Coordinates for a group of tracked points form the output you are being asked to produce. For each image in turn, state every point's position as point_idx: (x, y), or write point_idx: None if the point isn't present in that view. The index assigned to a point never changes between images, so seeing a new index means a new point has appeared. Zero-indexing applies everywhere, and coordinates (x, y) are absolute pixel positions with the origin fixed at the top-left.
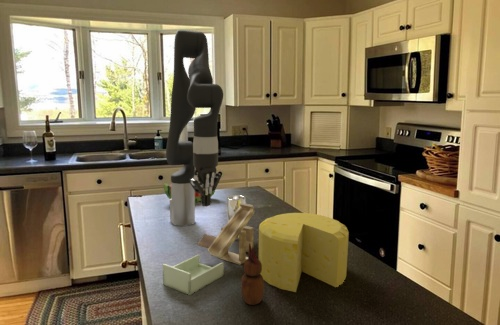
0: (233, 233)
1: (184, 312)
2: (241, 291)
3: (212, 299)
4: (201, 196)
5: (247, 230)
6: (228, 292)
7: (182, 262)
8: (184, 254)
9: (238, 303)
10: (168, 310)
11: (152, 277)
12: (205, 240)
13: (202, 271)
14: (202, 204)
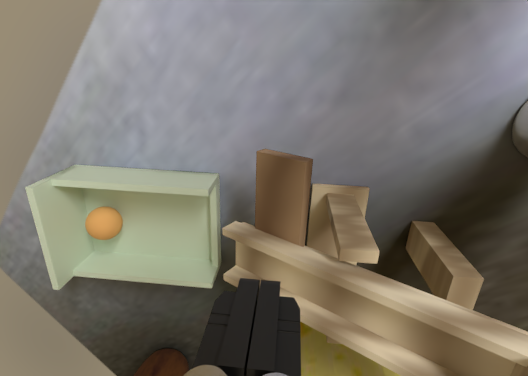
0: (306, 321)
1: (45, 281)
2: (144, 364)
3: (119, 298)
4: (198, 357)
5: (442, 292)
6: (164, 310)
7: (127, 187)
8: (269, 59)
9: (145, 343)
10: (23, 253)
11: (75, 104)
12: (275, 182)
13: (194, 212)
14: (224, 298)
